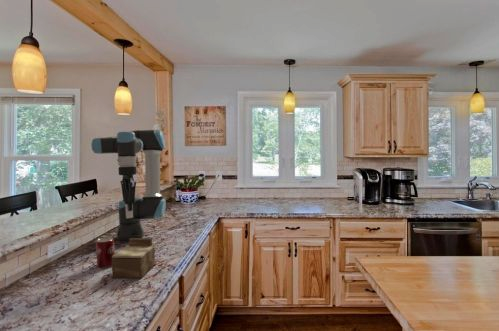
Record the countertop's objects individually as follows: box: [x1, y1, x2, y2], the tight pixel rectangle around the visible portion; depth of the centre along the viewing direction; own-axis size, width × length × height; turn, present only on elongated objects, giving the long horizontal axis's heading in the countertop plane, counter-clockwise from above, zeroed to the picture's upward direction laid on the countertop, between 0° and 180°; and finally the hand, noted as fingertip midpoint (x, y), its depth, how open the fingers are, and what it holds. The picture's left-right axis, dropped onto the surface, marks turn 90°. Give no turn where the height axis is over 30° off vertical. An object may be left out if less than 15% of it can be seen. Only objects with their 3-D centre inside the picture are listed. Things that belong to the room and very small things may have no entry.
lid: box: [112, 237, 155, 258], centre depth 124 cm, size 14×12×4 cm
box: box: [111, 247, 156, 280], centre depth 124 cm, size 14×12×8 cm
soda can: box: [95, 236, 116, 270], centre depth 131 cm, size 7×7×12 cm
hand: (129, 217), depth 133 cm, fingers closed
